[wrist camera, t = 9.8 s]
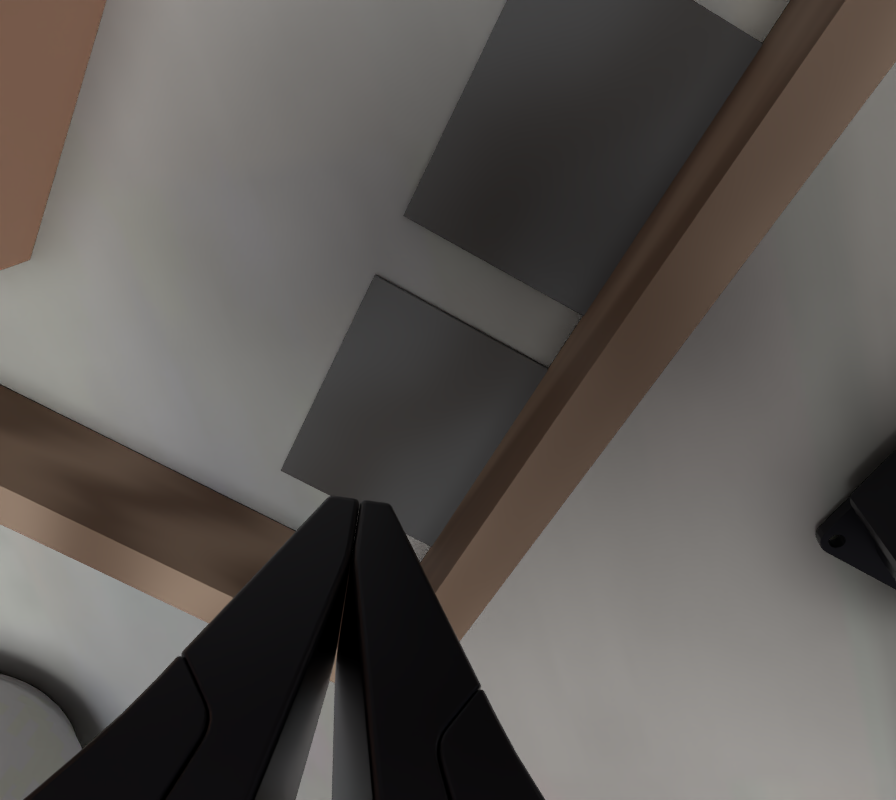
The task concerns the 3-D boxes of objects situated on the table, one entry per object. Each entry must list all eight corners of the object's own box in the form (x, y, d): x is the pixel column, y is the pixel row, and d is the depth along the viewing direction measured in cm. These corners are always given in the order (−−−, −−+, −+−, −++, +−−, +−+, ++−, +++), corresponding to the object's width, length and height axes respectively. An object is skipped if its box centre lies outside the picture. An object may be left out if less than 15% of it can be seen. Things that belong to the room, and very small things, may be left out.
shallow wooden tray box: (929, -91, 15) (1047, -141, 12) (422, 628, 26) (403, 715, 23) (-774, -1215, 12) (-1357, -1784, 8) (-526, 162, 23) (-725, 179, 19)
